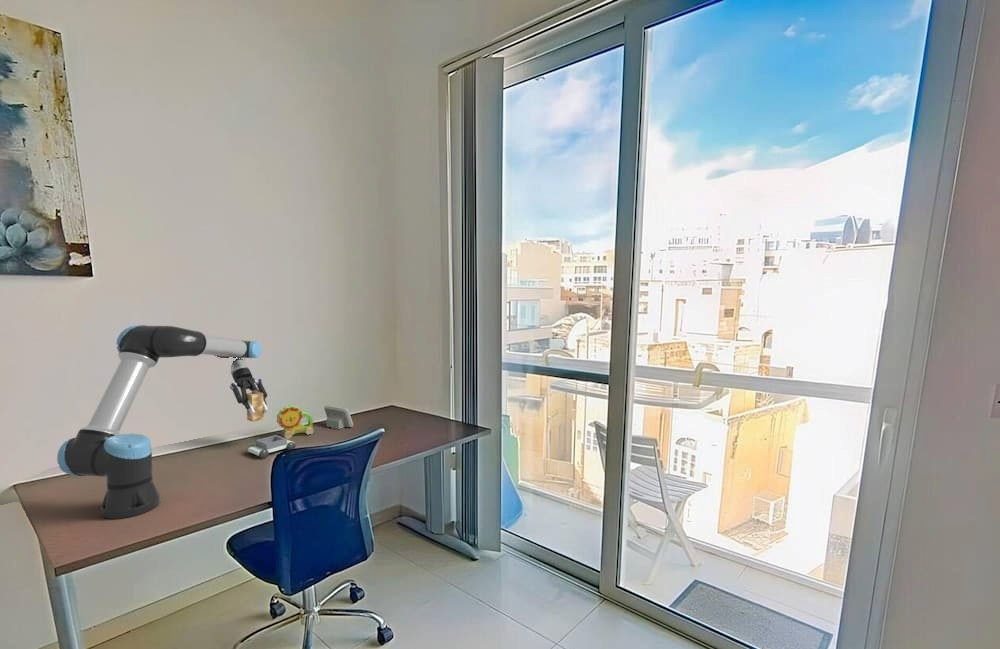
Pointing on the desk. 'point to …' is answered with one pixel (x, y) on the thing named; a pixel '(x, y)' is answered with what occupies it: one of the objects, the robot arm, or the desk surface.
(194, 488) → the desk surface
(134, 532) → the desk surface
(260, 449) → the chassis
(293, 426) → the toy lion
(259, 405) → the tall wooden block
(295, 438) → the desk surface
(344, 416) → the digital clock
